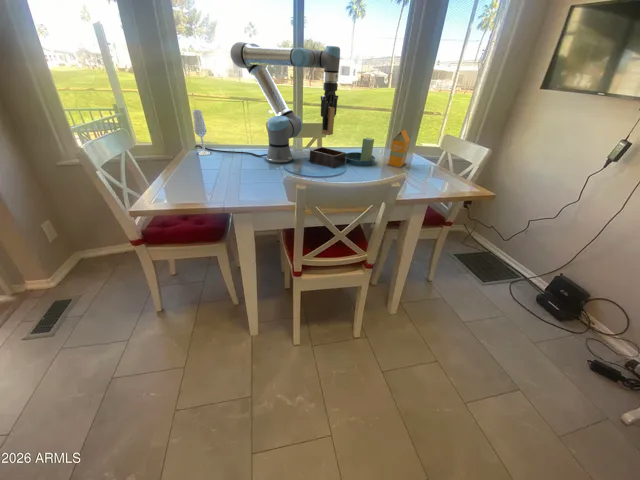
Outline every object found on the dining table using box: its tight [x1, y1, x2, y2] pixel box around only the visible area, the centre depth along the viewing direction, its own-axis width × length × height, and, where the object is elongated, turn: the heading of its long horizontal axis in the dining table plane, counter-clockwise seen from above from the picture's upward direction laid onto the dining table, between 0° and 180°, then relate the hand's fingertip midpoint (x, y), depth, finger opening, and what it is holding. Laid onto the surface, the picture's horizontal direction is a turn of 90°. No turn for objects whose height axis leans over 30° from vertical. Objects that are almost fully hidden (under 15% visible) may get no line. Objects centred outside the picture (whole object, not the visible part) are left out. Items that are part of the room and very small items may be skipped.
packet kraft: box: [321, 107, 335, 136], centre depth 153 cm, size 5×4×14 cm
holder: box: [309, 146, 347, 169], centre depth 161 cm, size 18×12×7 cm, turn 52°
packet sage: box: [360, 137, 375, 161], centre depth 160 cm, size 5×4×14 cm
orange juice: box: [387, 129, 411, 168], centre depth 160 cm, size 8×9×20 cm
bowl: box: [344, 151, 376, 167], centre depth 165 cm, size 19×19×4 cm
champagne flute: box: [191, 109, 211, 156], centre depth 159 cm, size 7×7×24 cm
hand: (327, 129), depth 155 cm, fingers closed on packet kraft, 4 cm apart
